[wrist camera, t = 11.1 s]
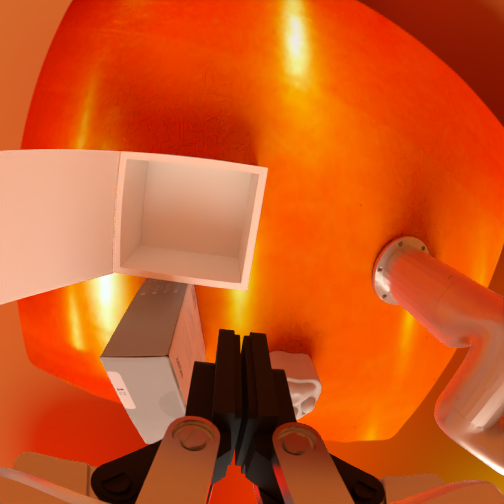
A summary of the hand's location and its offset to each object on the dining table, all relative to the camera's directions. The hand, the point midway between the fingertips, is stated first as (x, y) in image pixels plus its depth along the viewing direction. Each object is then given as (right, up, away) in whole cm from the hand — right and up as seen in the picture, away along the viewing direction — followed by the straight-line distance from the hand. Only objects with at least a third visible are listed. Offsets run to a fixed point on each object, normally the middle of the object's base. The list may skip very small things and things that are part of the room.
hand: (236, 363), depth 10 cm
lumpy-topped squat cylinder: (+6, -20, +41) cm, 45 cm away
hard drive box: (-12, -7, +35) cm, 37 cm away
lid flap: (-19, +7, +12) cm, 23 cm away
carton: (-8, +10, +29) cm, 32 cm away
